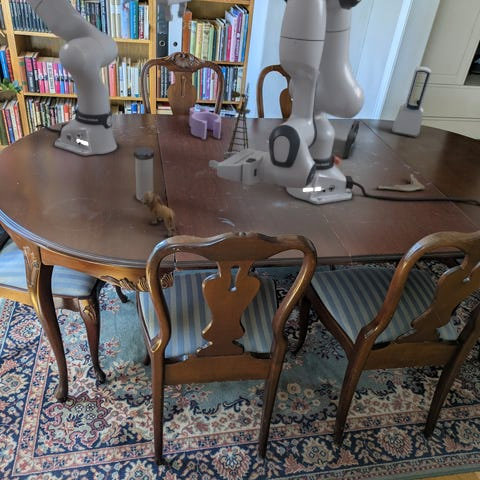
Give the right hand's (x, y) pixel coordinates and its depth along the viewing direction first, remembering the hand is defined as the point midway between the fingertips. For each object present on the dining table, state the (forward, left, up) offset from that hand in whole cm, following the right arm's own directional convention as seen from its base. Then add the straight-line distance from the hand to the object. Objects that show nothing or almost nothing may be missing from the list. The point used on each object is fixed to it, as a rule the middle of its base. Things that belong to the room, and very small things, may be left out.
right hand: (217, 158), depth 140 cm
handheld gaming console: (-66, -40, -15) cm, 79 cm away
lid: (+21, -5, +1) cm, 22 cm away
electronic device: (-105, -59, -15) cm, 121 cm away
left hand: (+9, -30, +33) cm, 46 cm away
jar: (+22, -5, -15) cm, 26 cm away
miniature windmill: (-14, -28, -15) cm, 34 cm away
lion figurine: (+18, +13, -15) cm, 27 cm away
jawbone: (-70, -7, -15) cm, 72 cm away
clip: (-8, -63, -15) cm, 65 cm away
